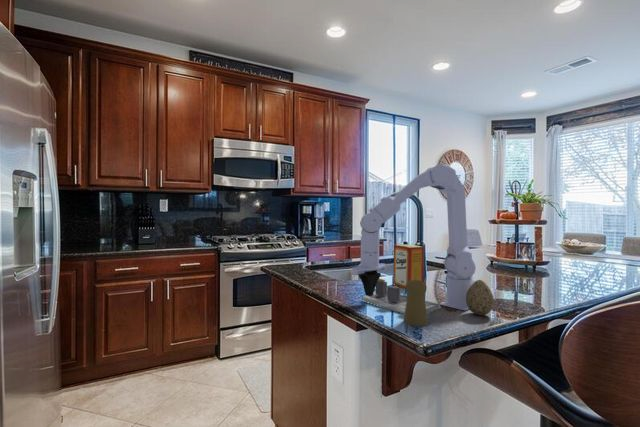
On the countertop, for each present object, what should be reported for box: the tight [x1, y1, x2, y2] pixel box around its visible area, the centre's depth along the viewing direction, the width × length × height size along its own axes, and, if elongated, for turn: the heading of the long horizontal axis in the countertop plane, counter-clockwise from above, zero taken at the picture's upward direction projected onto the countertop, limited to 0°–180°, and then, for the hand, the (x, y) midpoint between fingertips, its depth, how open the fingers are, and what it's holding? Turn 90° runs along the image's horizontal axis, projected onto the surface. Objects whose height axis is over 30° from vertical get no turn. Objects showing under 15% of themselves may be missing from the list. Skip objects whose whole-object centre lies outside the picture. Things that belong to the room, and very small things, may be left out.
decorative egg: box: [466, 279, 495, 316], centre depth 95 cm, size 7×7×10 cm
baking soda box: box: [392, 243, 425, 290], centre depth 129 cm, size 10×6×16 cm
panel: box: [361, 293, 440, 315], centre depth 104 cm, size 12×20×2 cm, turn 42°
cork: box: [403, 280, 428, 327], centre depth 88 cm, size 6×6×11 cm
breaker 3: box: [374, 278, 388, 296], centre depth 109 cm, size 2×3×5 cm, turn 42°
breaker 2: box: [387, 285, 401, 302], centre depth 102 cm, size 2×3×4 cm, turn 42°
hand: (369, 295), depth 105 cm, fingers closed
